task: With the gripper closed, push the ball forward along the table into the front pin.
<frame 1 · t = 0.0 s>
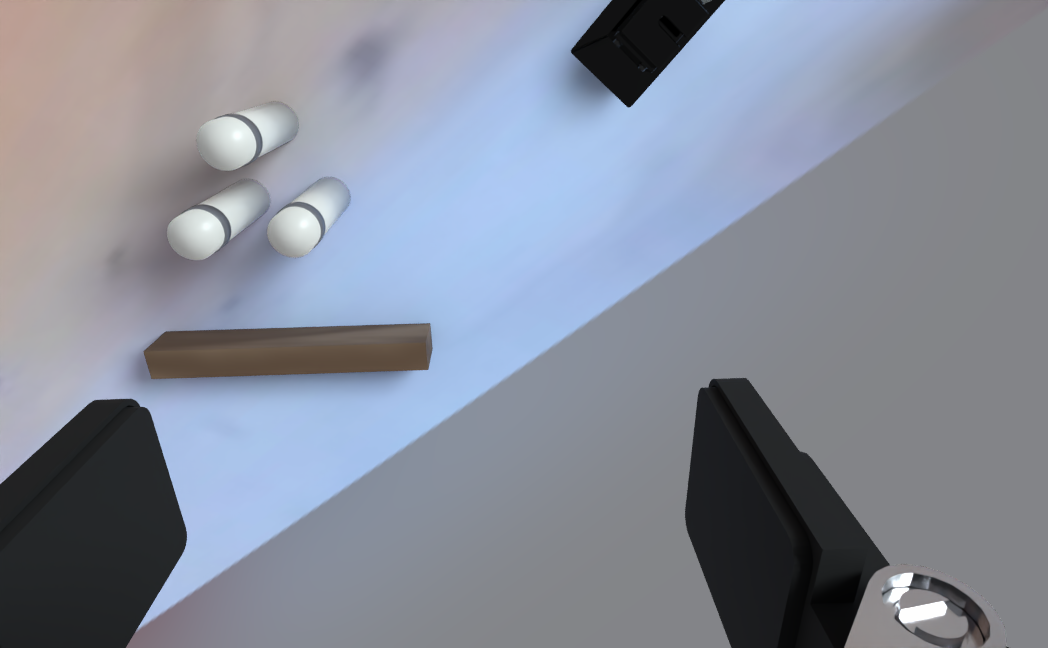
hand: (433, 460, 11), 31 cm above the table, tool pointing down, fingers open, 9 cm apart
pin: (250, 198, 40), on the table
black boxy piece: (646, 23, 38), on the table
back wall: (300, 340, 44), on the table
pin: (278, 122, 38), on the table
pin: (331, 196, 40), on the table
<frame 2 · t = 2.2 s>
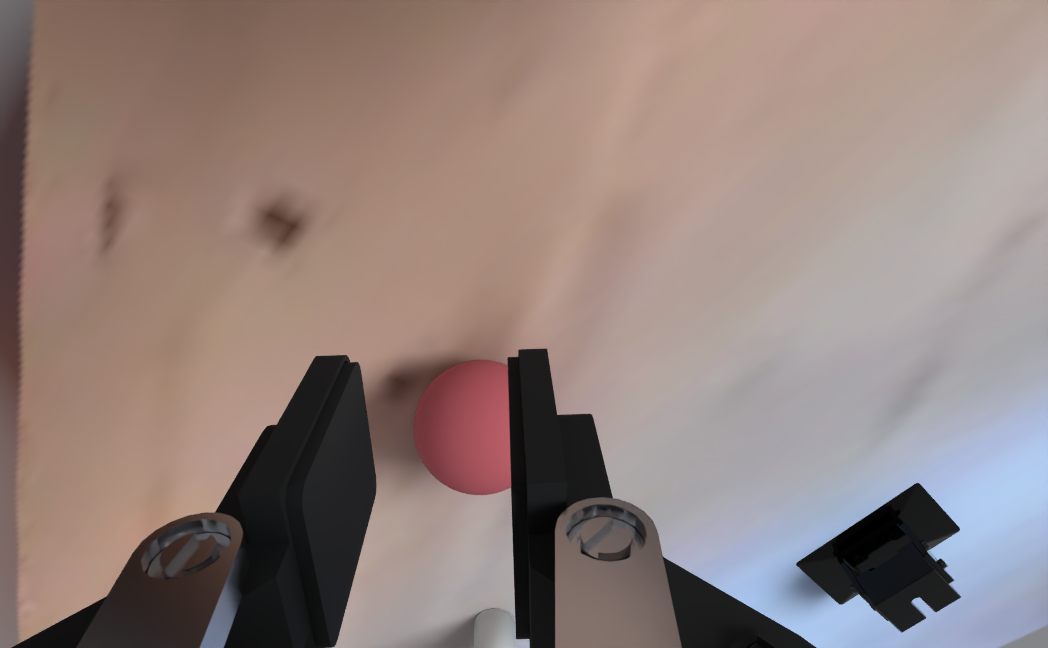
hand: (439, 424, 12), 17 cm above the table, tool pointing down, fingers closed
black boxy piece: (869, 536, 38), on the table
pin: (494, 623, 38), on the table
ball: (480, 426, 29), on the table
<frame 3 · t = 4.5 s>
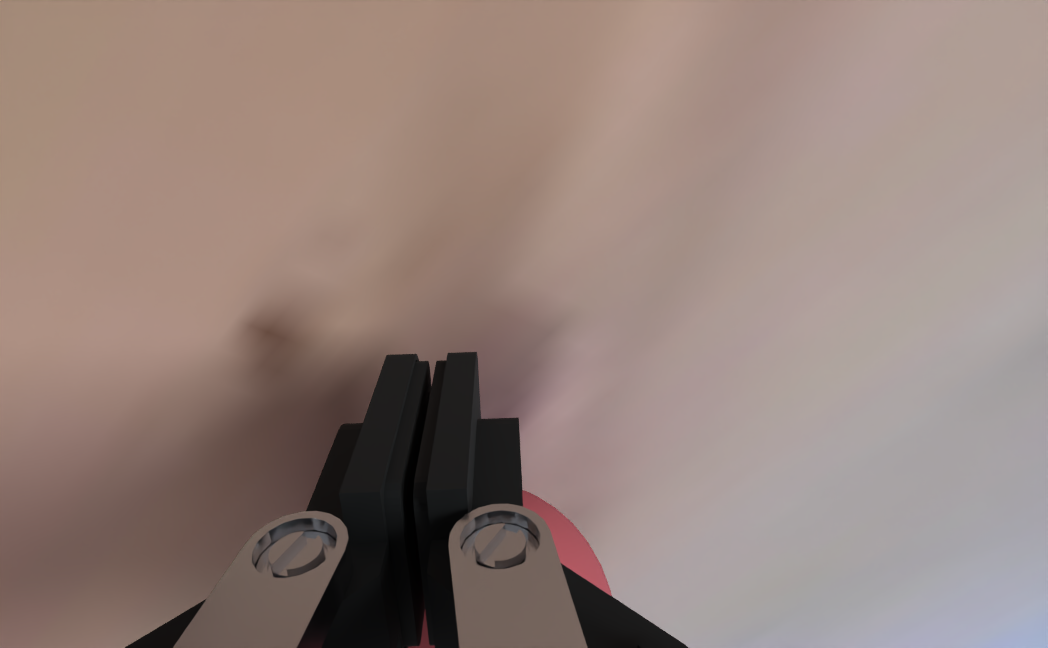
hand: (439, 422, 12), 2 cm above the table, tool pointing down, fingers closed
ball: (471, 628, 13), on the table
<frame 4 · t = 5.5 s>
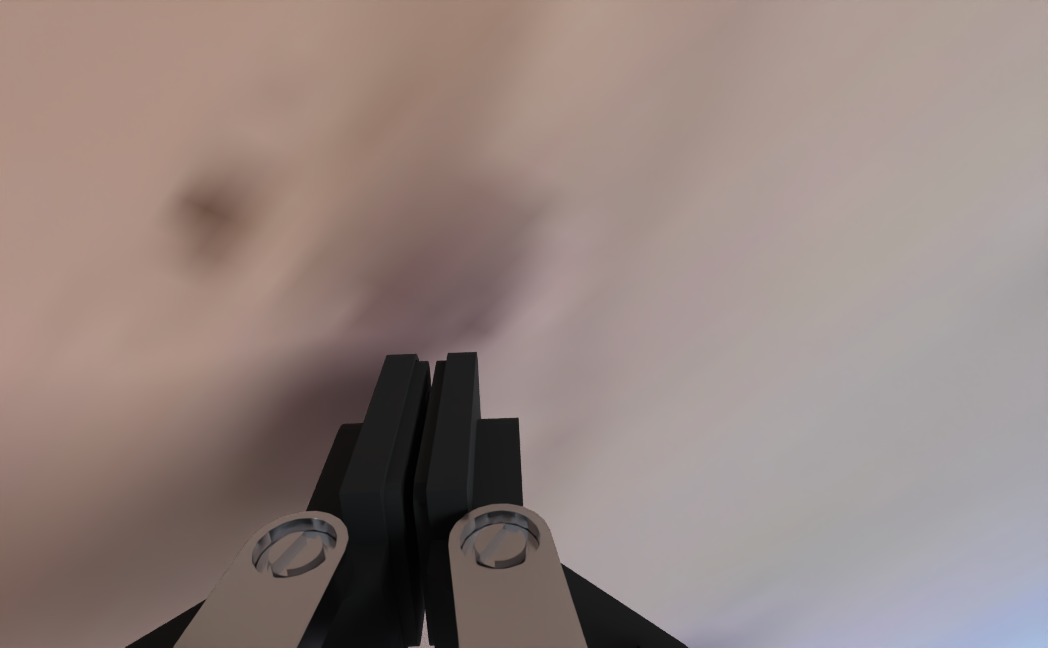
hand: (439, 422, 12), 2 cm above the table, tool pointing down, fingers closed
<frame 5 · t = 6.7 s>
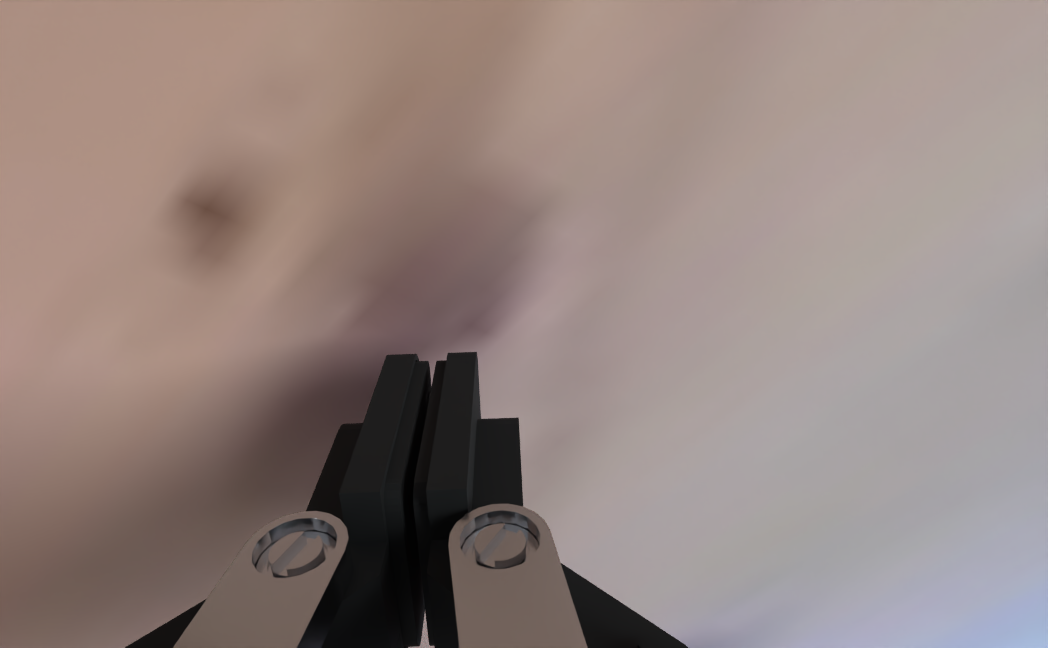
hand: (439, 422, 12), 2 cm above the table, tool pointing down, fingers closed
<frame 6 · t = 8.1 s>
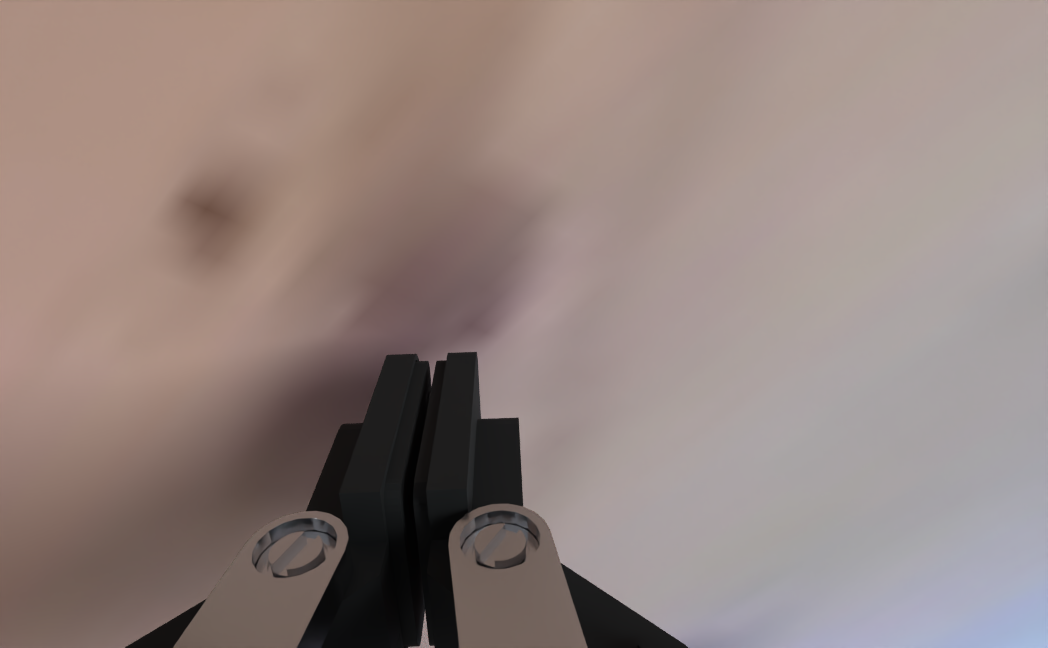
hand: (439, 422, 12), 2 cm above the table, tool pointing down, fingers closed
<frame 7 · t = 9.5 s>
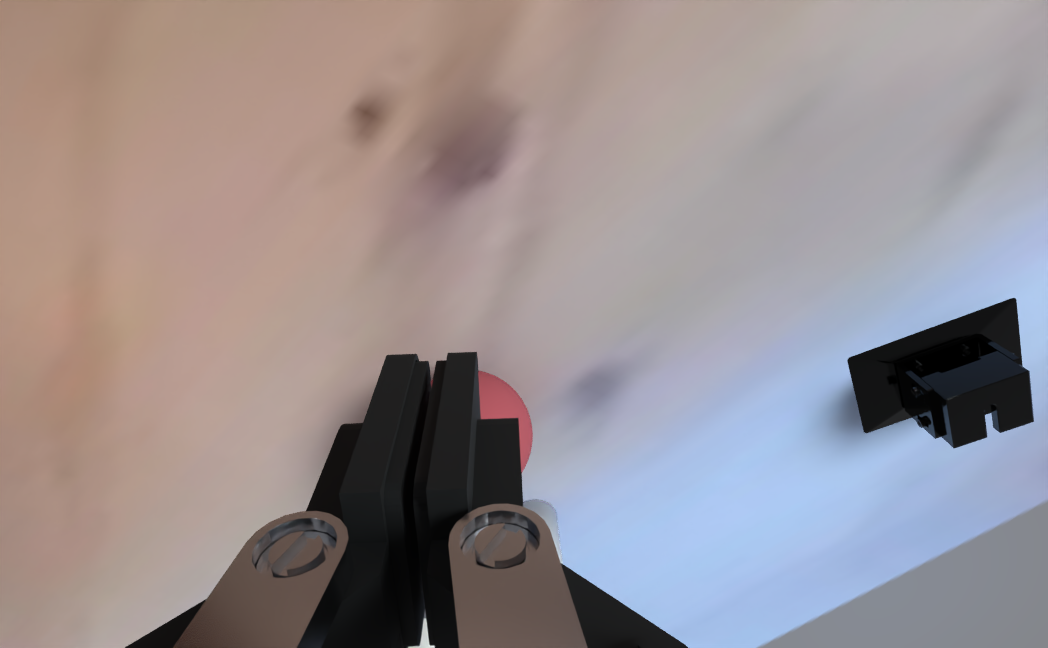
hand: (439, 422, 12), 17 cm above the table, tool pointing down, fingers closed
black boxy piece: (926, 361, 33), on the table
ball: (466, 435, 29), on the table
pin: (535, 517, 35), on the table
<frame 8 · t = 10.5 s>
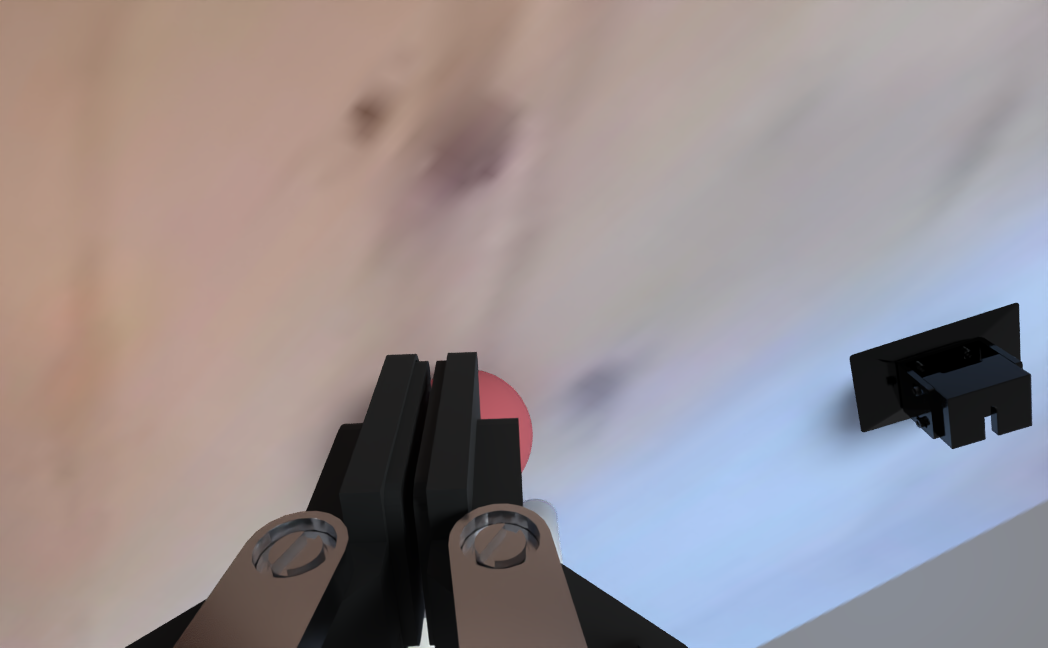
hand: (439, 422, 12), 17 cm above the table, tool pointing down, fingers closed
black boxy piece: (926, 362, 33), on the table
ball: (466, 435, 29), on the table
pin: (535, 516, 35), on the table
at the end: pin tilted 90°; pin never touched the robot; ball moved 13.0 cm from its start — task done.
